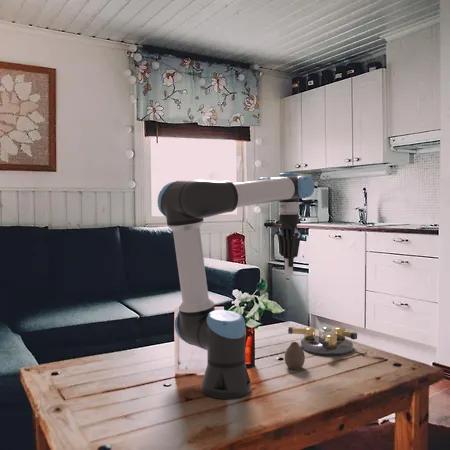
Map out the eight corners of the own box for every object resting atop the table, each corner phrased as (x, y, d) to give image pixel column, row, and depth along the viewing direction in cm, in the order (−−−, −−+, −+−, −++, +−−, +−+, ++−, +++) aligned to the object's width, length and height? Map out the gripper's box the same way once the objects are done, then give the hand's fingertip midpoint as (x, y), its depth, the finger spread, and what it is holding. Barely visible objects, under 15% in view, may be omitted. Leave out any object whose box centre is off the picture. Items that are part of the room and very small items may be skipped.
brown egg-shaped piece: (283, 370, 162) (283, 344, 162) (286, 363, 169) (286, 339, 168) (303, 372, 160) (303, 346, 160) (305, 365, 167) (306, 340, 166)
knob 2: (326, 345, 182) (326, 333, 182) (338, 346, 180) (338, 334, 180) (319, 352, 173) (319, 340, 173) (331, 354, 171) (331, 342, 171)
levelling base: (363, 350, 183) (364, 329, 183) (325, 359, 173) (325, 337, 172) (327, 337, 200) (328, 318, 200) (290, 345, 190) (290, 325, 190)
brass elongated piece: (331, 338, 191) (331, 327, 190) (339, 337, 193) (339, 326, 193) (351, 345, 182) (351, 333, 181) (359, 343, 184) (359, 332, 184)
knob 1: (315, 338, 191) (315, 327, 191) (314, 341, 187) (314, 330, 187) (289, 336, 194) (289, 325, 194) (288, 339, 190) (288, 328, 189)
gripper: (270, 213, 184) (270, 273, 185) (292, 214, 173) (291, 278, 174) (286, 213, 188) (285, 272, 189) (307, 213, 177) (307, 276, 178)
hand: (288, 275), depth 182 cm, fingers closed
